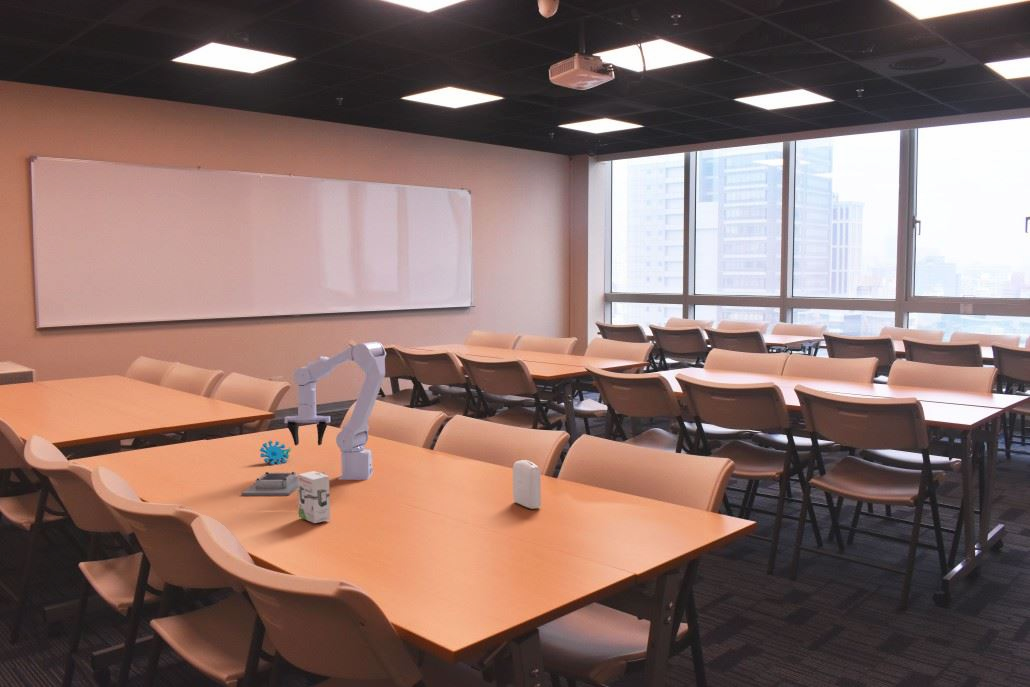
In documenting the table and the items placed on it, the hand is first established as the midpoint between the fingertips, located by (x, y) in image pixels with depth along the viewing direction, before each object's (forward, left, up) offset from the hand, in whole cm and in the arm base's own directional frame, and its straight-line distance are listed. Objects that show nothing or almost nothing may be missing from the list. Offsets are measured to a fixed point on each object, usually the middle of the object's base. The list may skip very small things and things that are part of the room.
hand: (308, 444), depth 268 cm
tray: (+5, +18, -9) cm, 21 cm away
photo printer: (-72, +38, -10) cm, 82 cm away
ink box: (-16, +51, -10) cm, 54 cm away
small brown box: (-8, +20, -10) cm, 24 cm away
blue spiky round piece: (+14, -12, -11) cm, 21 cm away
